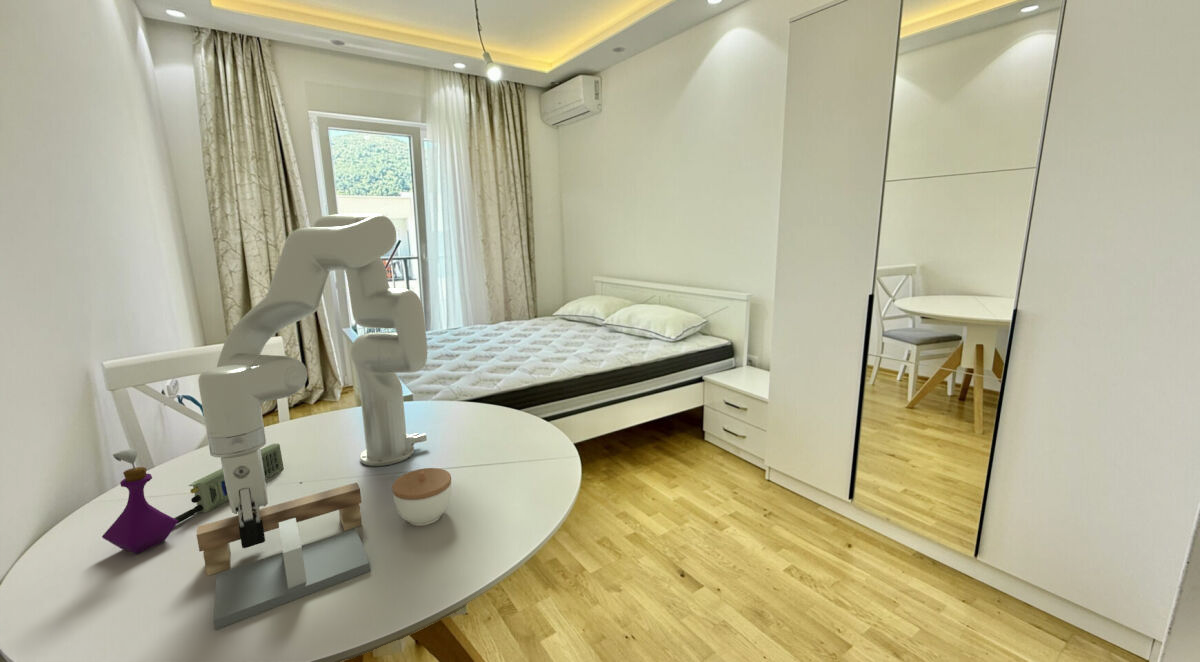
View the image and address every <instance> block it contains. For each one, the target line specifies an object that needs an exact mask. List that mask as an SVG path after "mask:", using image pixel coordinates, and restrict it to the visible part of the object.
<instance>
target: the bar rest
mask: <svg viewBox="0 0 1200 662" xmlns="http://www.w3.org/2000/svg"><path fill="white" fill-rule="evenodd" d="M338 512H339V513H338V514H339V520H340V523H341V525H342V527H343V531H344V532H346V531H349V530H352V529H355V528H358V527H361V526H363V524H362V523H363V521H362V514H361V513H362V512H361V505H360V504H357V505H353V506H350V507H347V508H343V509H340V510H338ZM202 553H203V560H204V566H205V571H206V575H207V576H212V575H214V574H218V573H221V572H224V571H227V570H230V569H231V567H232V566H231V562H232V561H231V559H232V551H231V546H230V543H227V544H224V545H221V546H217V547H214V548H211V549H207V550H204V551H202Z"/></svg>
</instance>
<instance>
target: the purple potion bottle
mask: <svg viewBox="0 0 1200 662" xmlns="http://www.w3.org/2000/svg"><path fill="white" fill-rule="evenodd" d="M137 454H138V453H137V450H136V449H135V448H129V449H124V450H121V451H118V452H115V453H113V454H112V456H113V458H114V459H115V460H116V461H118V462H121V461H123V462H126V463H129V464H131V465H132V468H128V469H127V470H126V469H125V470H124V471H123V472H122V474H123V476H124V479H122V480H121V481H120V482H119V484H120V487H123V488H126V489H127V490H128V499H127V502H126V505H125V508H124V509H123V511H122V512H121V513H120V514H119V516H118V517H117V519H116V520H115V521H114V522H113V523H112V525H110V527H108V529H107V530H106V531H105V532H104V533H103V534H102V536H101V537H102V539H104V540H105V541H107V542H109V543H110V544H112V545H114V546H115V547H118V548H119V549H121V550H123V551H125V552H129V553H132V554H136V555H138V554H141V553H143V552H146V551H147V550H149V549H151V548H153V547H155V546H157V545H159V544H162V543H163V542H165V541H166V539H168V537H169V535H170V534H171V533H172V532H173V530H174V529H175V527H176V525H178V524H179V523H178V520H176V519H174V518H175V517H172V516H170V515H169V514H166V513H164V512H162V511H160V510H159V509H157V508H156V507H155V506H152V505H151V504H149V502H148V501H147V499H146V497H145V492H144V491H145V490H144V489H145V486H146V485H147V483H148V482H150V481H151V480H152V479H153V476H152V475H151V473H147V467H145V466H139V467H138V466H137V467H135V461H136V460H137V457H138V455H137ZM177 523H178V524H177Z"/></svg>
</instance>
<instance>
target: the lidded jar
mask: <svg viewBox="0 0 1200 662" xmlns="http://www.w3.org/2000/svg"><path fill="white" fill-rule="evenodd" d="M391 491H392V494H393V500H394V505H395V507H396V510H397V512H398V514H399V516H400V517H401V518H402V519H404V520H405V521H407V522H409V524H411V526H415V527H416V526H417V527H421V526H422V527H423V526H427V525H431V524H433V523H435V522H437V521H438V520H440V518H441V517H442V515H443V514H444V513H445V512H446V510H447V508H448V507H449V505H450V501H451V498H452V497H451V496H452V475H451V473H450V472H449V471H448V470H446V469H443V468H438V467H428V468H427V467H425V468H420V469H419V468H418V469H415V470H412V471H411V470H410V471H409V472H407V473H405V474H402V475H401V476H399V477H398V478H396V479H395V480H394V482H393V483H392V486H391ZM440 516H441V517H440ZM437 519H438V520H437ZM436 520H437V521H436ZM430 523H431V524H430Z"/></svg>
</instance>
